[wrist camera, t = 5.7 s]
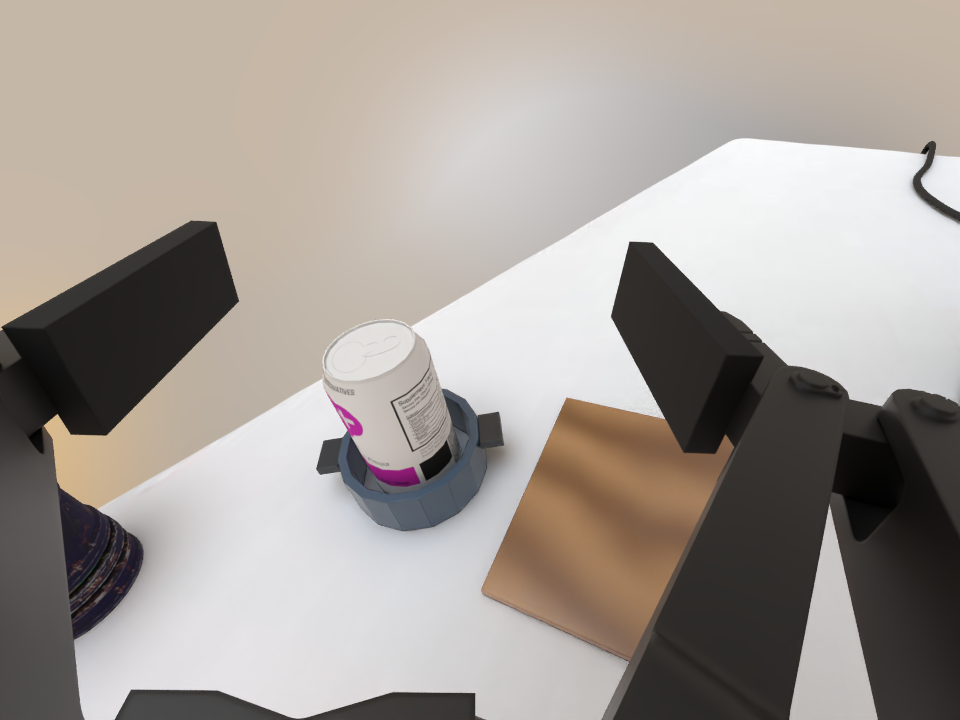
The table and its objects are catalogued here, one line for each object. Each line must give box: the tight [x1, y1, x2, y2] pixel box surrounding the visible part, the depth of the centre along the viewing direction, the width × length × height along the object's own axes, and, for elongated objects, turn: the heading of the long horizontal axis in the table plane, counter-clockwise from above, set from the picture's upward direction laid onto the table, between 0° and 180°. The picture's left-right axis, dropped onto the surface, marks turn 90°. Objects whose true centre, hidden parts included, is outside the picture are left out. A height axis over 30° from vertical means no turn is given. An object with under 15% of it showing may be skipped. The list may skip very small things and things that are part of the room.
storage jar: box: [57, 483, 143, 640], centre depth 34 cm, size 10×10×15 cm
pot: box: [316, 389, 504, 531], centre depth 40 cm, size 13×17×4 cm
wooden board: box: [481, 398, 733, 662], centre depth 35 cm, size 20×15×1 cm
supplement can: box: [322, 319, 462, 494], centre depth 37 cm, size 8×8×15 cm
